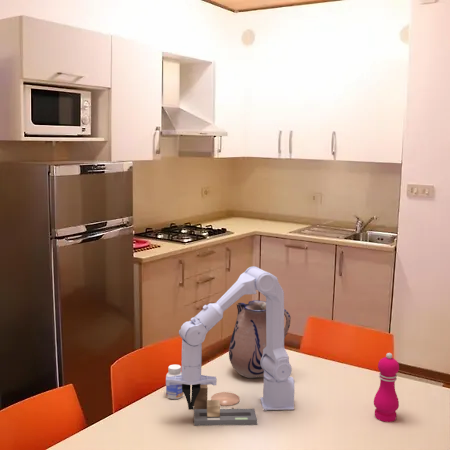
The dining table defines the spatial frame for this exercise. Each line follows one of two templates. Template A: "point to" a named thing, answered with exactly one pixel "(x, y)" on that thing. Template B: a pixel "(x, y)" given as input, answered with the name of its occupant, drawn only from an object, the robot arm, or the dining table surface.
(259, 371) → the ceramic pitcher
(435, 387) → the dining table surface
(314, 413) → the dining table surface
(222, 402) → the coaster
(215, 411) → the switch tab
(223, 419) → the switch panel
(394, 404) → the pepper mill
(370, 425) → the dining table surface
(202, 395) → the block
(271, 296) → the robot arm
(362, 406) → the dining table surface
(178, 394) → the pill bottle
